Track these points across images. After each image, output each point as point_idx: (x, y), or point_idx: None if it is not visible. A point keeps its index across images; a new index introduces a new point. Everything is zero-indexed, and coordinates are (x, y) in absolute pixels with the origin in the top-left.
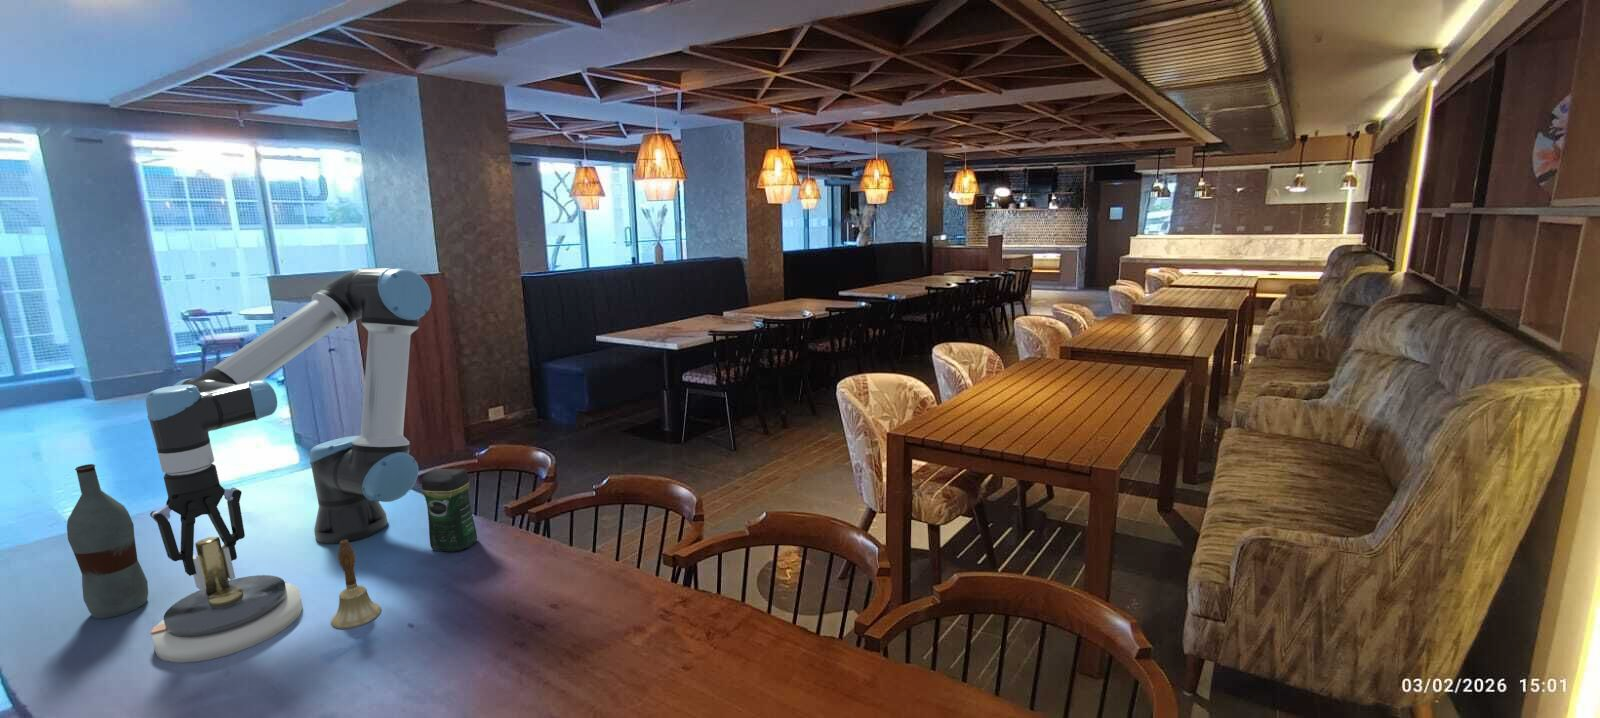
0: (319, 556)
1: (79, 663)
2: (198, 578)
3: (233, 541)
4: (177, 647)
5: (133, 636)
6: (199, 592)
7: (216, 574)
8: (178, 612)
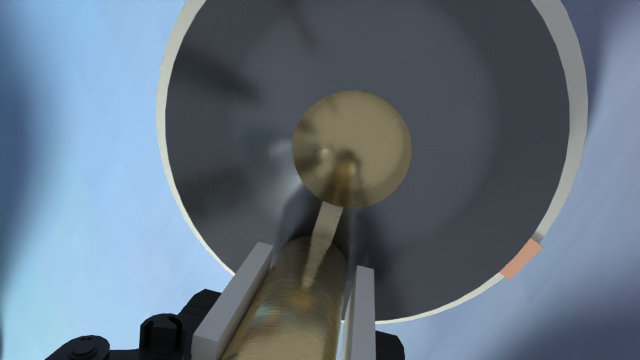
0: (29, 285)
1: (621, 349)
2: (373, 302)
3: (144, 349)
4: (581, 61)
5: (483, 350)
6: None
7: (310, 274)
8: (482, 227)
